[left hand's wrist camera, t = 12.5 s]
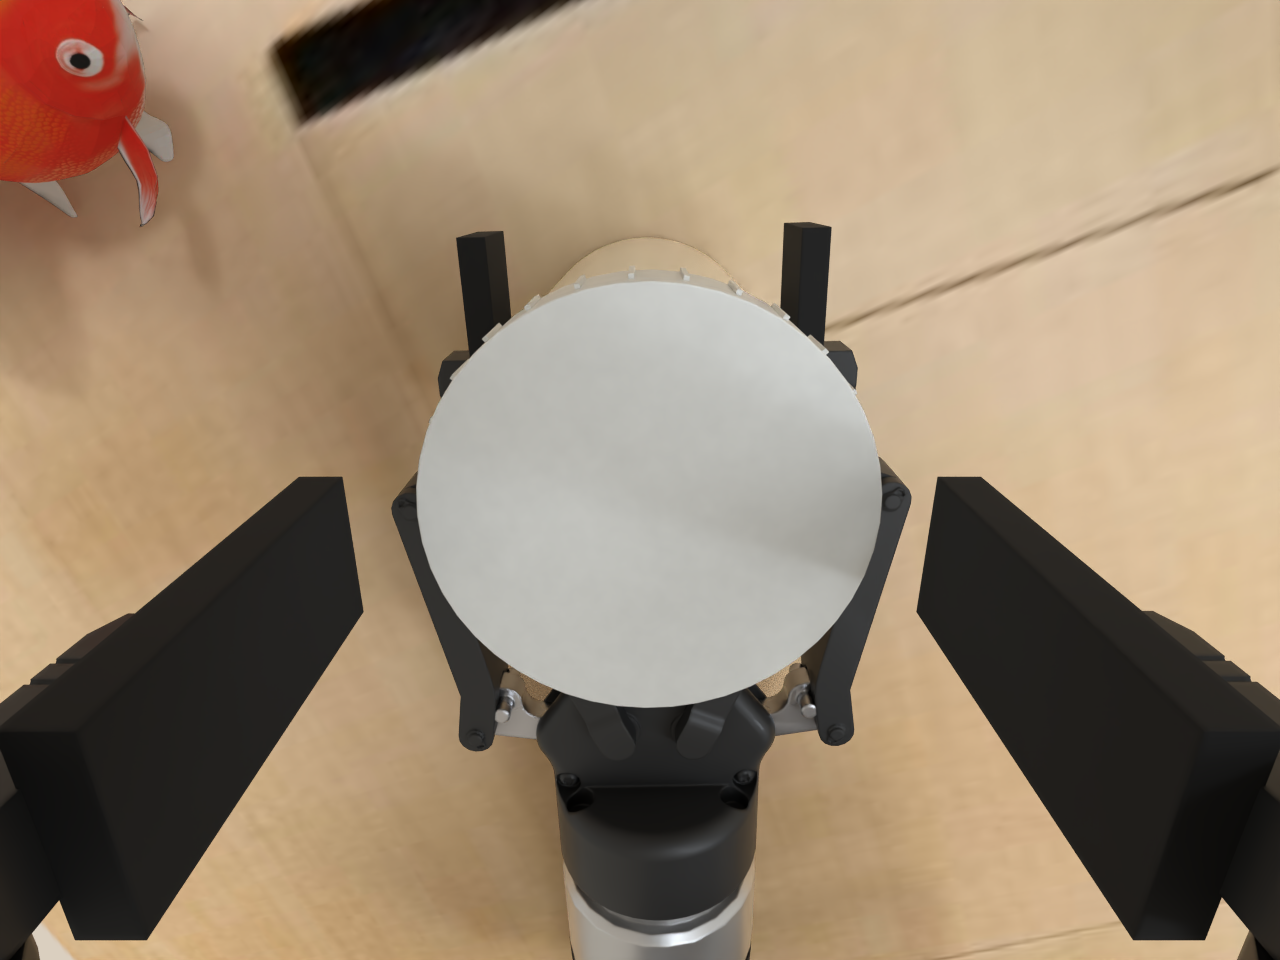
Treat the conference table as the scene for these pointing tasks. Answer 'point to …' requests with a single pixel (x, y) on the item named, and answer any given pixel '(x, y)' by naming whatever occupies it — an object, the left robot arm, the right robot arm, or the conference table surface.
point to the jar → (645, 260)
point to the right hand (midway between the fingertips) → (643, 230)
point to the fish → (74, 97)
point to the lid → (649, 490)
